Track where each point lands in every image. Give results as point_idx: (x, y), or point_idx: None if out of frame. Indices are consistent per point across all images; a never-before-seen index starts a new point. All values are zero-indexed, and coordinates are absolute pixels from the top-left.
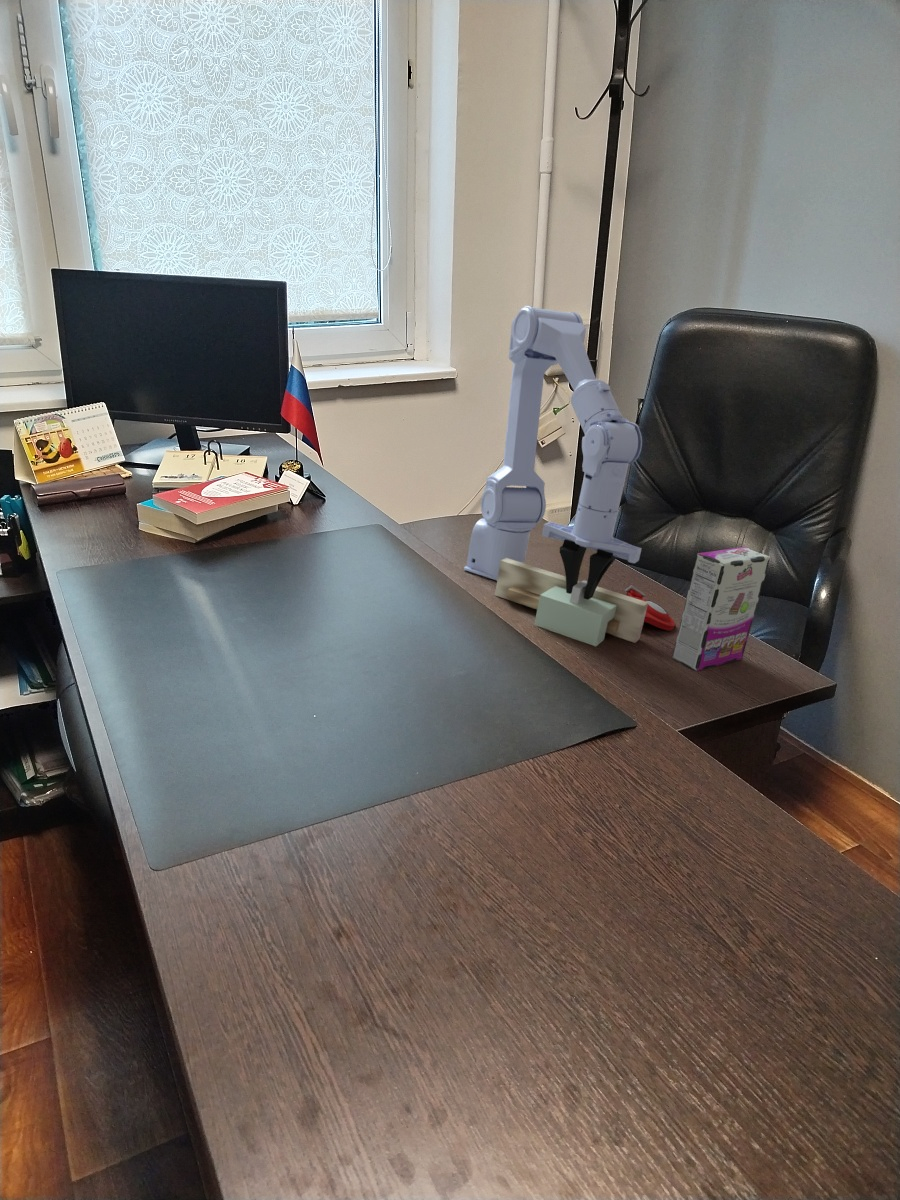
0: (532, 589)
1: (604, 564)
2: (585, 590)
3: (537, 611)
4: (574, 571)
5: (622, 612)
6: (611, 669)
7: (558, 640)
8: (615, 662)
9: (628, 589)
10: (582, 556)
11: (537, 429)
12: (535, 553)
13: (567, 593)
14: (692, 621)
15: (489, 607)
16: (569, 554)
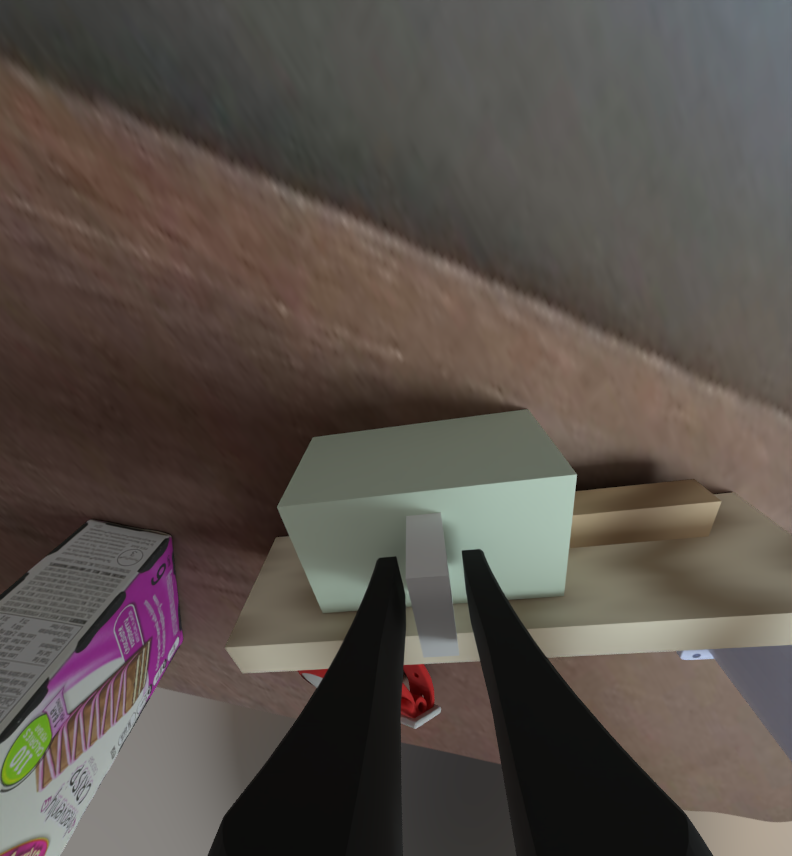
0: (636, 551)
1: (218, 833)
2: (389, 586)
3: (543, 433)
4: (489, 672)
5: (305, 597)
6: (166, 330)
7: (406, 373)
8: (204, 389)
9: (426, 713)
10: (511, 816)
11: None
12: (705, 732)
13: (494, 570)
14: (18, 647)
15: (722, 397)
16: (572, 828)
